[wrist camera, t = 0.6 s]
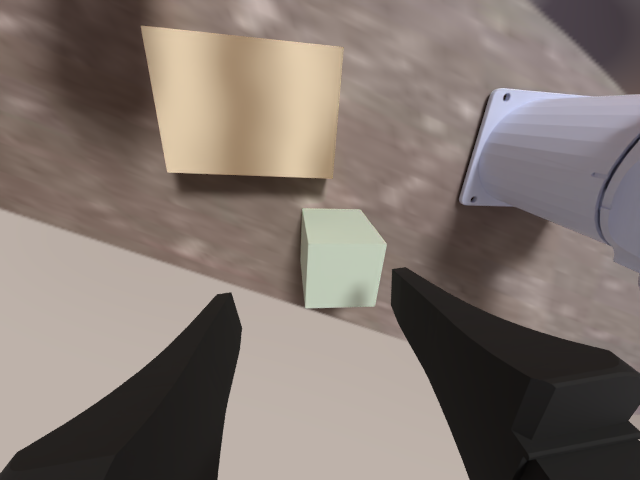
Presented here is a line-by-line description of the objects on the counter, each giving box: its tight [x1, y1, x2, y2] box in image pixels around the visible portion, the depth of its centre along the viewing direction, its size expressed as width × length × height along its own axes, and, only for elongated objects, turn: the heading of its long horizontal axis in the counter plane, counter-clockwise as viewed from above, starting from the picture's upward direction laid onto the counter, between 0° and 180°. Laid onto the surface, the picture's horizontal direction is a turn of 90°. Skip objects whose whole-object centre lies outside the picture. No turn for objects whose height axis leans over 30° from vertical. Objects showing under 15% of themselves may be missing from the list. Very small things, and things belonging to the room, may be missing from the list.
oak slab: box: [141, 26, 344, 179], centre depth 16 cm, size 10×7×2 cm
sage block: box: [300, 208, 387, 308], centre depth 18 cm, size 4×4×6 cm
